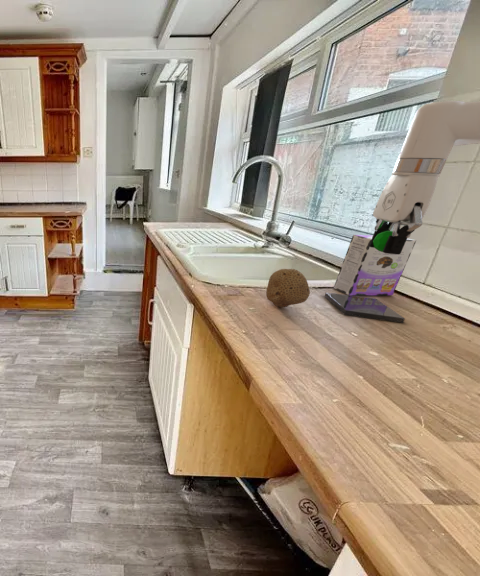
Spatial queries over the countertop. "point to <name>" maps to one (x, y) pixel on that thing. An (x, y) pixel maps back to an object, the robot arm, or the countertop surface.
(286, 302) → the natural sponge
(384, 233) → the polyhedron
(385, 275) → the candy box
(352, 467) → the countertop surface
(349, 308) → the board
